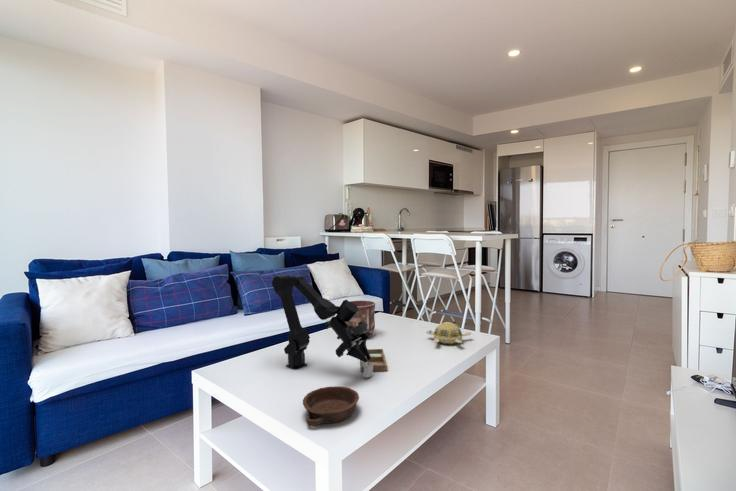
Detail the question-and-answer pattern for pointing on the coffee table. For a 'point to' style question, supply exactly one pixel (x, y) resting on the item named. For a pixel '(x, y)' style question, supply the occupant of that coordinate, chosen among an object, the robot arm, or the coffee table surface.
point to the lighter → (367, 369)
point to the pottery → (364, 315)
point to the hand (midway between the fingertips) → (368, 360)
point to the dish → (330, 404)
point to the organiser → (376, 360)
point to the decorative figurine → (447, 333)
